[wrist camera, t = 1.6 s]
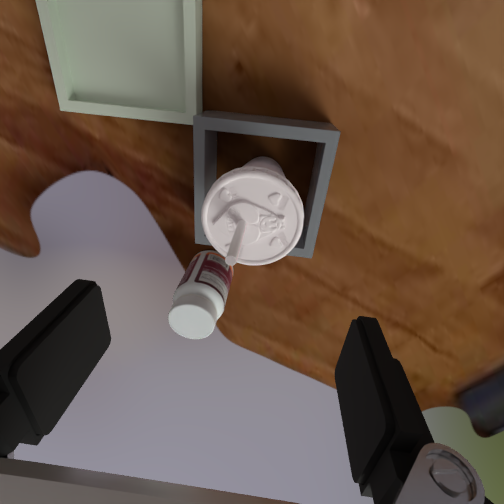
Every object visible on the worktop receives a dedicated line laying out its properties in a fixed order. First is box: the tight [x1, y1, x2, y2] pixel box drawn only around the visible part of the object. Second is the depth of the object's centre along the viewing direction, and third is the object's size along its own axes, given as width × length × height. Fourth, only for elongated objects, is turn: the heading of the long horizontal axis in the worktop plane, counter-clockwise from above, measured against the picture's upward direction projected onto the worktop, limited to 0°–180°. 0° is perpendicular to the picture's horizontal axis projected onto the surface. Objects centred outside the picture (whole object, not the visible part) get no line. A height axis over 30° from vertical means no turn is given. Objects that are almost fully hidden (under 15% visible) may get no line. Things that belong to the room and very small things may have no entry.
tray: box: [36, 0, 202, 125], centre depth 20 cm, size 14×11×2 cm
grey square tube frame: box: [193, 110, 340, 258], centre depth 24 cm, size 10×10×4 cm
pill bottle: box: [168, 250, 233, 339], centre depth 28 cm, size 5×5×8 cm
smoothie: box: [201, 156, 304, 265], centre depth 20 cm, size 6×6×14 cm
